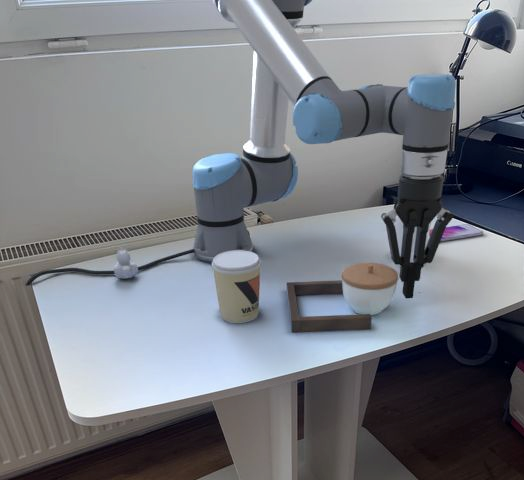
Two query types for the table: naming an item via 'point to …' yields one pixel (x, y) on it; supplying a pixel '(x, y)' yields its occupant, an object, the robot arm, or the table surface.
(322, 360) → the table surface
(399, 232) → the mug
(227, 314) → the coffee cup
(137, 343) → the table surface
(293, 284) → the bay
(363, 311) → the trinket box
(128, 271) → the grey lumpy figure
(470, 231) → the smartphone
